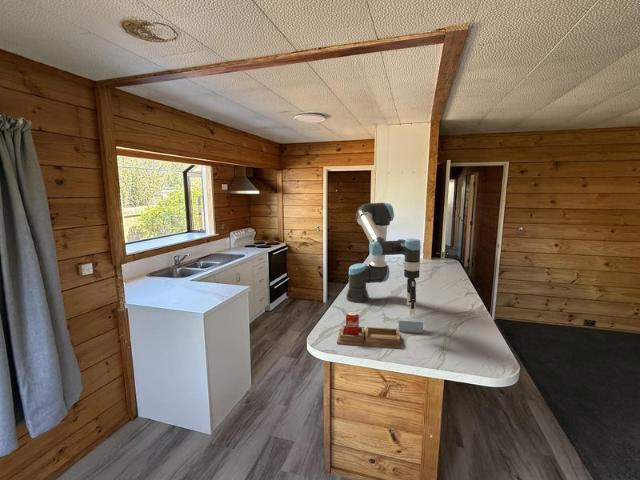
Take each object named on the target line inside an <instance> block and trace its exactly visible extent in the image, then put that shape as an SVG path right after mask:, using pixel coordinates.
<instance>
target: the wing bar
mask: <svg viewBox="0 0 640 480" xmlns="http://www.w3.org/2000/svg"><path fill="white" fill-rule="evenodd" d="M397 323H398V324H397V325H398V326H397V330H399V332H404V333H418V334H419V333H420V334H422V333H424V332H423V331H424V329H423V328H424V321H423V318H414V317H413V318H411V317H398V320H397Z"/></svg>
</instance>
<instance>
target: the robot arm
mask: <svg viewBox="0 0 640 480" xmlns="http://www.w3.org/2000/svg"><path fill="white" fill-rule="evenodd" d="M394 218H395V212H394V208H393V205H392V204H391V203H390V202H374V203H373V202H371V203H364V204H362V205H361V206H360V207H359V208H358V209H357V211H356V212H355V219H356V220H355V221H356V223H358V225H360V226H361V228H362V229H363V231H364V233H365V235H366V238H367V239H368V241H369V246H368V248H369V249H368V250H369V253H370V255H371V260H370V261H369V262H368V265H367V264H366V263H361V262H359V263H355V264H352V265H350V266H349V267H348V289H347V292H346V295H345V299H346V300H347V301H349V302H353V303H364V302H367V301H369V298H370V295H369V292H368V288H367V284H373V283H374V284H375V283H378V284H379V283H385V282H387V281H388V280H389V278H390V273H391V272H390V266H389V265H388V263H387V262H386V256H397V255H403V256H404V262H403V265H404V271H403V275H404V278H407V280H406V282H407V285H406V305H408V306H409V308H408V309H409V313H408V314H409V315H411V316H415V315H416V303H417V296H416V295H417V290H416V288H417V285H416V284H417V281H416V279H419V278H420V274H421V273H420V268H421V248H422V247H421V241H420V239H418V238H406V239H403V238H402V239H397V240H387V237H388V236H387V235H388V234H387V233H388V227H389V226H390V225H391V222H392V221H394Z"/></svg>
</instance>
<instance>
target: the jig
mask: <svg viewBox="0 0 640 480" xmlns="http://www.w3.org/2000/svg"><path fill="white" fill-rule="evenodd" d="M336 344H337V345H348V346H360V347H361V346H363V347H373V348H374V347H375V348H387V349H389V348H391V349H402V345H401V336H400V331H399V330H398V328H389V327H387V328H386V327H371V326H366V327H365V326H359V335H358V336H356V335H346V325H343V324H342V325H341V328H339V332H338V336H337V340H336Z"/></svg>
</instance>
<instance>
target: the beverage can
mask: <svg viewBox="0 0 640 480" xmlns="http://www.w3.org/2000/svg"><path fill="white" fill-rule="evenodd" d="M359 316H360V315H359V314H358V312H357V311H354V310H353V311H352V310H350V311H348V312H347V313H346V315H345V326H346V335H356V336H358V335H359V327H360V325H359V323H360V322H359V321H360V319H359Z"/></svg>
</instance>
